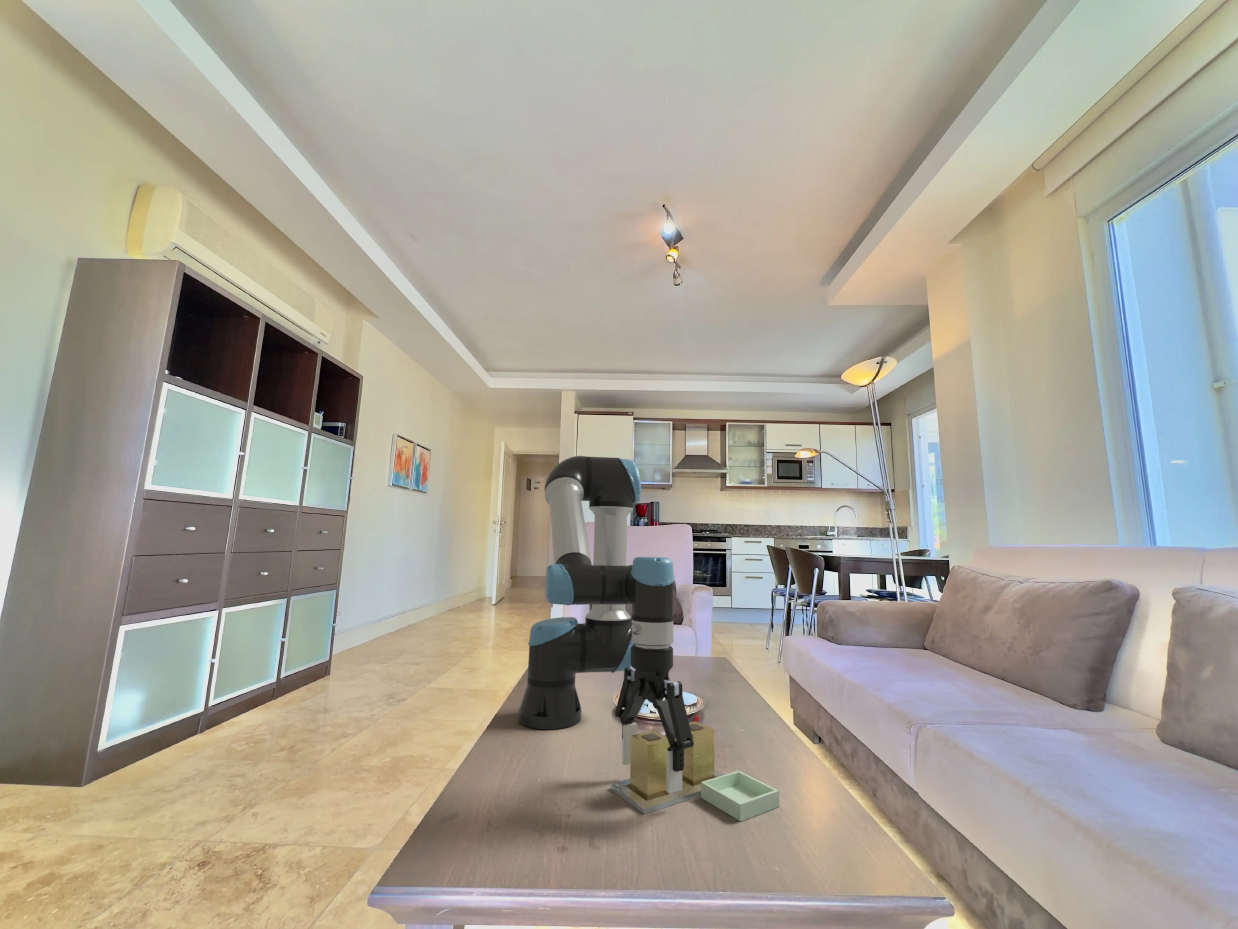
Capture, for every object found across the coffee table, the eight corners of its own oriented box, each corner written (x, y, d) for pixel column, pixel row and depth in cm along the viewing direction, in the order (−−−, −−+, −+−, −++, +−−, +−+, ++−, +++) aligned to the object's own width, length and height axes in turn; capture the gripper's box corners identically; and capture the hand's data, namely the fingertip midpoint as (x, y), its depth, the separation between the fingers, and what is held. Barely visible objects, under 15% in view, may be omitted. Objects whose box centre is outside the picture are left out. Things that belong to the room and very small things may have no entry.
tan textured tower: (675, 778, 94) (675, 725, 96) (695, 772, 97) (695, 720, 98) (693, 789, 90) (693, 733, 92) (714, 782, 93) (713, 728, 94)
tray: (700, 797, 87) (700, 782, 87) (738, 785, 92) (738, 770, 92) (740, 821, 80) (740, 804, 80) (779, 806, 85) (779, 790, 85)
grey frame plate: (610, 788, 90) (610, 783, 90) (696, 764, 100) (696, 760, 101) (644, 814, 81) (644, 808, 81) (734, 784, 92) (734, 779, 92)
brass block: (630, 791, 89) (631, 734, 90) (653, 784, 92) (653, 729, 93) (647, 803, 85) (648, 744, 86) (671, 796, 87) (671, 738, 89)
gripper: (598, 636, 100) (595, 756, 96) (680, 659, 80) (679, 812, 76) (630, 633, 104) (628, 748, 101) (715, 655, 84) (716, 799, 81)
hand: (650, 776), depth 89 cm, fingers open, 12 cm apart
